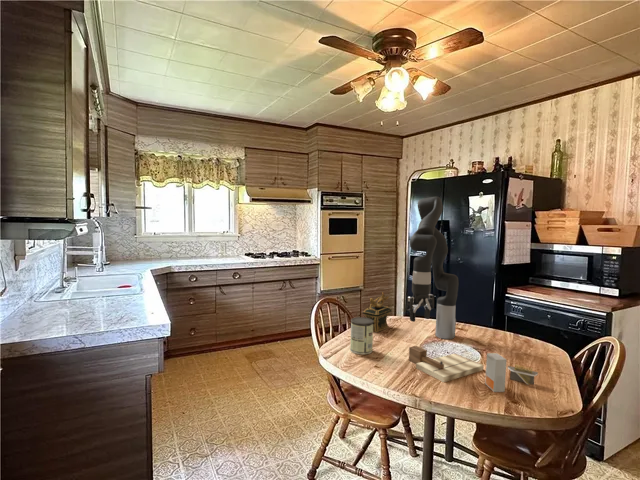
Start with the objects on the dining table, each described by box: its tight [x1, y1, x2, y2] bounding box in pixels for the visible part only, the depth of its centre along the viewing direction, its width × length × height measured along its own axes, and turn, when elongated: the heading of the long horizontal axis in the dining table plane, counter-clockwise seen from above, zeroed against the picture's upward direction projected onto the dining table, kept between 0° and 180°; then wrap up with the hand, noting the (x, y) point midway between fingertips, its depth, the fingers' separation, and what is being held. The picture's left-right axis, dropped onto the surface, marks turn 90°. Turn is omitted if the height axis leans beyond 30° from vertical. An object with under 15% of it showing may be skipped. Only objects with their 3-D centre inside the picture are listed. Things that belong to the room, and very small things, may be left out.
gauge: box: [408, 345, 444, 369], centre depth 147 cm, size 4×17×6 cm, turn 31°
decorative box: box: [362, 291, 393, 333], centre depth 197 cm, size 20×10×20 cm, turn 141°
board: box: [415, 353, 485, 383], centre depth 145 cm, size 24×14×2 cm, turn 121°
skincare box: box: [484, 352, 507, 393], centre depth 129 cm, size 6×4×12 cm
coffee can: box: [349, 316, 374, 355], centre depth 162 cm, size 10×10×14 cm
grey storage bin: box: [507, 363, 539, 386], centre depth 135 cm, size 12×18×7 cm, turn 59°
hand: (419, 319), depth 150 cm, fingers open, 8 cm apart
